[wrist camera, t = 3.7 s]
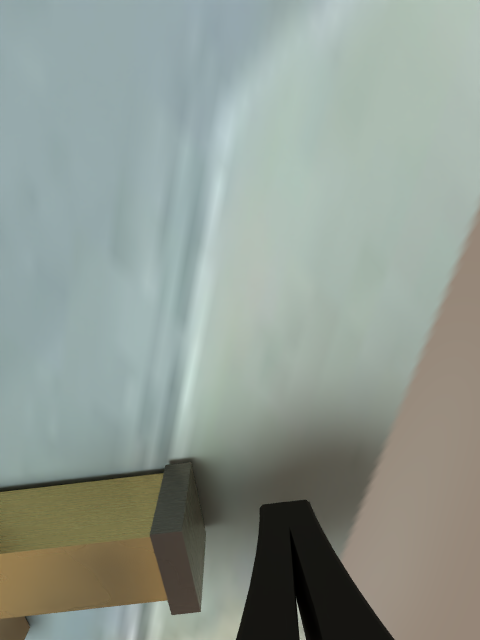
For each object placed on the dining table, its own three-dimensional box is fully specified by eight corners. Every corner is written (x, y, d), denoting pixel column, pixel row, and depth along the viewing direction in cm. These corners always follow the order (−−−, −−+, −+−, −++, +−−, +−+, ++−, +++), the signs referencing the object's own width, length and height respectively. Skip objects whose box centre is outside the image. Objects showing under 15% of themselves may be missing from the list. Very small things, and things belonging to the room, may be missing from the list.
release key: (206, 533, 12) (200, 611, 10) (-8, 557, 12) (-61, 640, 10) (191, 462, 11) (181, 531, 9) (-42, 489, 11) (-110, 564, 9)
